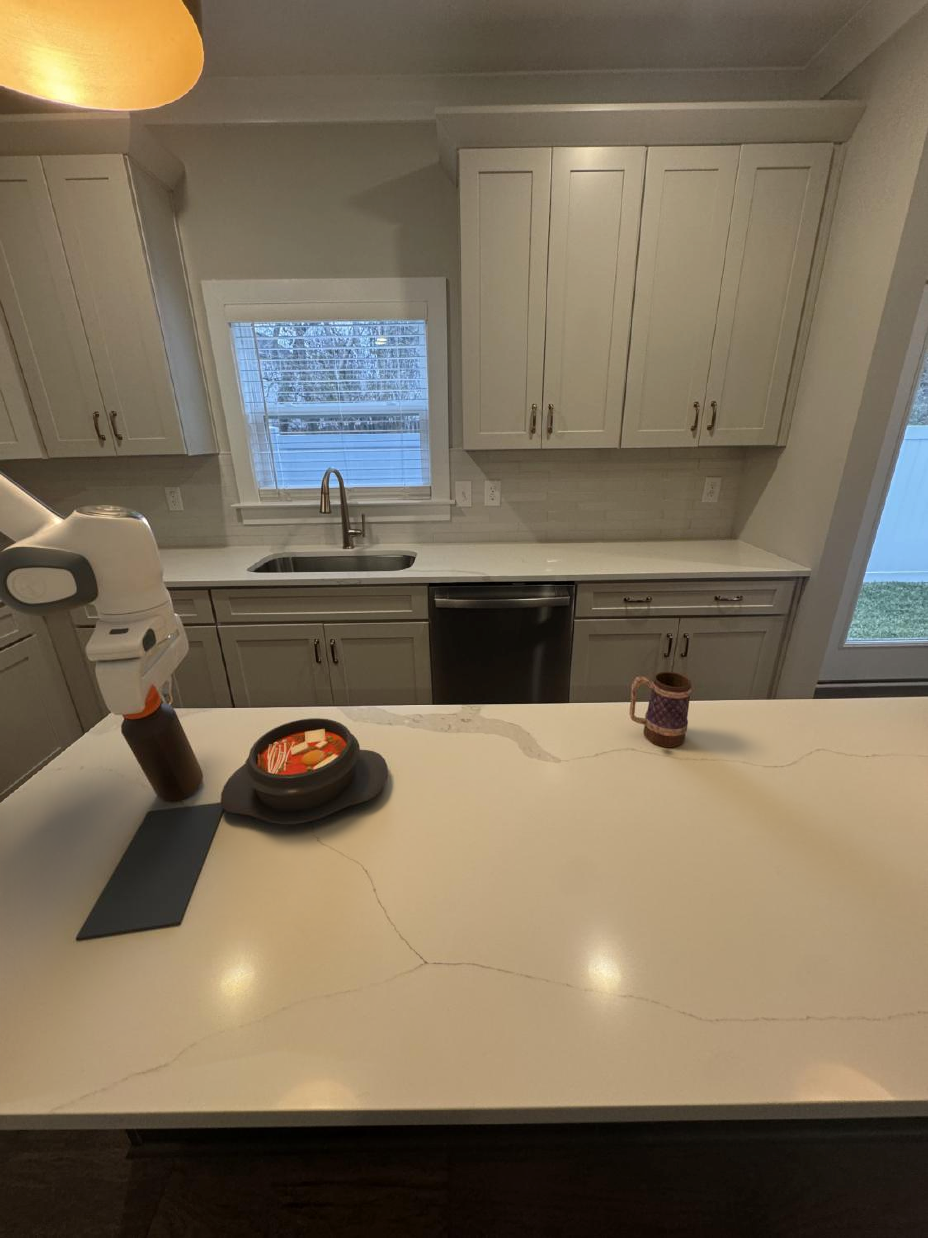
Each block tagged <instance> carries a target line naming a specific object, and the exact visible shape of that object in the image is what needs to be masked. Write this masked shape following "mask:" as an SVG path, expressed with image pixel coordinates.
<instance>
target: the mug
mask: <svg viewBox="0 0 928 1238" xmlns="http://www.w3.org/2000/svg"><path fill="white" fill-rule="evenodd" d="M642 684H646V685H647V687H648V688H649V689H650V695H649V699H648V704H647V705H648V706H647V710H646V712H645V715H644V717H639V716H636V715H635V713H636V712H635V711H636V702H637V690H638V688H639V686H641V685H642ZM630 687H631V692H630V693H631V694H630V695H631V696H630V704H629V714H628V715H629V717H630V719H631V721H632V722H634V723H636V724H639V725H644V726H643V735H644V737H645V738H646V739H647V740H648V741H649V742H650V743H652V744H655V745H656V746H659V747H663V748H675V747H679V746H681V745H683V744H684V742H685V740H686V733H687V730H688V726H689V720H688V716H689V715H688V714H689V706H690V698H691V694H692V681H691V680H690V679H689V678H688V676H686V675H683V674H681V673H680V672H679V673H678V672H675V671H661V672H658V673H656V674H654V676H653V679H652V682H651V680H650V679H649V678H647V677H645V676H641V675H639V676H638V677H635V678H634V680H633V682H632V684H631V686H630Z"/></svg>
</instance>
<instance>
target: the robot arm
mask: <svg viewBox="0 0 928 1238" xmlns="http://www.w3.org/2000/svg"><path fill="white" fill-rule="evenodd" d="M0 533H2V534H3V535H5V536H6V537H8V538H9V539H10V540H12V541H13V542H15V543H12V544H11V545H9V546H7V547H6V548H4V549H3V550H2V551H0V601H1V602H2V603H4V605H6V606H7V607H8V608H11V609H12V610H14V611H16V612H18V613H20V614H21V613H22V614H25V615H28V616H35V617H42V616H43V617H45V616H52V615H56V614H60V613H64V612H68V611H72V610H76V609H79V608H81V607H85V606H88V605H92V606H94V607H95V611H96V613H97V617H98V620H97V621H96V623H95V627H94V631H93V633H92V634H91V637H90V638H89V640H88V642H87V644H86V646H85V653H86V654H85V655H86V657H87V659H88V661H91V662H95V663H96V664H95V669H94V670H95V678H96V681H97V684H98V687H99V690H100V693H101V696H102V698H103V701H104V703H105V706H106V708H107V710H108V711H109V712H110V713H111V714H113V715H115V716H122V715H127V714H136V713H140V712H142V711H143V710H144V708H145V700H146V698H147V696H148V694H149V691H150V689H151V687H152V685H154V686H155V687H156V689H157V691H158V693H159V695H160V698H161V702H162V703H166V704H168V705H170V706H171V704H172V702H173V696H172V682H173V681H172V680H173V679H172V674H173V673H174V671H175V670H176V669H177V667H178V666H179V665H180V663H181V662H182V661H183V660H184V658H185V657H186V656H187V655H188V654H189V650H190V644H189V640H188V635H187V633H186V630H185V627H184V624H183V621H182V619H181V617H180V616H179V614H177V613H175V610H174V606H173V605H174V604H173V601H172V597H171V594H170V591H169V590H168V589H167V587H166V584H165V582H164V564H163V561H162V557H161V554H160V550H159V547H158V543H157V540H156V537H155V536H154V532H153V530H152V527H151V526H150V524H149V521H148V520H147V519H146V518H145V516H144V515H142V514H141V513H140V512H138V511H136V510H135V509H132V508H128V507H125V506H119V505H109V504H107V505H106V504H100V505H96V504H95V505H93V504H92V505H86V506H85V505H84V506H81V507H77V508H76V509H74V510H73V512H71V514H70V515H69V516H66V515H63V514H62V513H59V512H58V511H56V510H54V509H52V507H50V506H48V505H47V504H46V503H44V502H43V501H41V500H40V499H39V498H38V497H36V496H35V495H34V494H33V493H30V491H28V490H26V489H25V488H24V487H23V486H21V485H20V484H19V483H18V482H16V481H14V480H13V479H12V478H11V477H9V476H8V475H6V474H5V473H4V472H2V471H1V470H0Z"/></svg>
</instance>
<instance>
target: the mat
mask: <svg viewBox="0 0 928 1238" xmlns="http://www.w3.org/2000/svg"><path fill="white" fill-rule="evenodd" d="M224 811H225V809H224V808H223V807H222V804H221V801H220V802H212V803H205V804H196V805H188V806H180V807H172V808H171V807H170V808H165V809H156V810H148V811H147V812H146V814H145V816H144V817H143V819H142V821H141V822H140V825H139V827H138V828H137V830H136V832H135V833H134V835H133V837H132V839H131V840H130V842H129V844H128V845H127V848H126V849H125V851H124V853H123V854H122V856H121V858H120V859H119V861H118V863H117V865H116V867H115V868H114V870H113V871H112V874H111V875H110V877H109V879H108V881H107V882H106V884H105V886H104V887H103V889H102V891H101V893H100V895H99V896H98V898H97V900H96V901H95V903H94V905H93V907H92V909H91V910H90V912H89V914H88V916H87V917H86V919H85V921H84V922H83V924H82V926H81V928H80V929H79V931H78V933H77V934H76V936H75V940H76V941H82V940H88V939H94V938H95V939H96V938H101V937H107V936H113V935H114V936H115V935H120V934H127V933H135V932H139V931H146V930H153V929H159V928H166V927H167V928H168V927H172V926H173V927H174V926H180V925H181V924H182V921H183V919H184V917H185V914H186V911H187V909H188V907H189V903H190V901H191V898H192V895H193V893H194V890H195V887H196V885H197V882H198V880H199V876H200V874H201V871H202V869H203V866H204V864H205V861H206V859H207V856H208V853H209V850H210V849H211V845H212V843H213V840H214V837H215V835H216V833H217V831H218V827H219V824H220V823H221V819H222V817H223V814H224Z"/></svg>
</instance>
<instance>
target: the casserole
mask: <svg viewBox="0 0 928 1238" xmlns="http://www.w3.org/2000/svg"><path fill="white" fill-rule="evenodd" d="M388 774H389V769H388V764H387V762H386V759H385V758H384V757H383V756H382V755H381V754H380V753H378V752H376V751H374V750H370V749H361V748H360V743H359V740H358V739H357V738H356V736H355V735H354V734H352V733H351V731H350V730H349V728H348V727H347V726H346V725H344V724H343V723H341V722H339V721H336V720H332V719H329V718H320V717H317V718H316V717H315V718H313V717H312V718H301V719H298V720H293V721H290V722H286V723H284V724H283V723H282V724H281V725H279V726H276V727H274V728H272V729H271V730H269V731H267V732H265V733H264V734H263V735H262V736H260V737H259V738H258V739H257V740H256V741H255V742H254V743H253V745H252V747H251V748H250V750H249V753H248V756H247V759H246V760H245V762H244V763H243V764H242V765H241V766H240V767H239V768H238V769H236V770H235V771H234V772H233V773H232V774H231V776H230V777H229V778H228V779H227V781H226V782H225V784H224V785H223V787H222V791H221V793H220V802H221V804H222V807H223V808H224V811H226V812H228V813H233V814H238V815H245V816H246V815H247V816H251V817H253V818H256V819H259V820H262V821H265V822H268V823H273V824H279V825H296V824H302V823H308V822H312V821H316V820H318V819H319V820H320V819H322V818H324V817H327V816H329V815H331V814H333V813H336V812H338V811H340V810H343V809H344V808H347V807H351V806H353V805H357V804H361V803H364V802H367V801H369V800H371V799H373V798H374V797H376V796H377V795H378V794H380V792H381V791H382V789H383V788H384V786H385V784H386V782H387V780H388Z"/></svg>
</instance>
